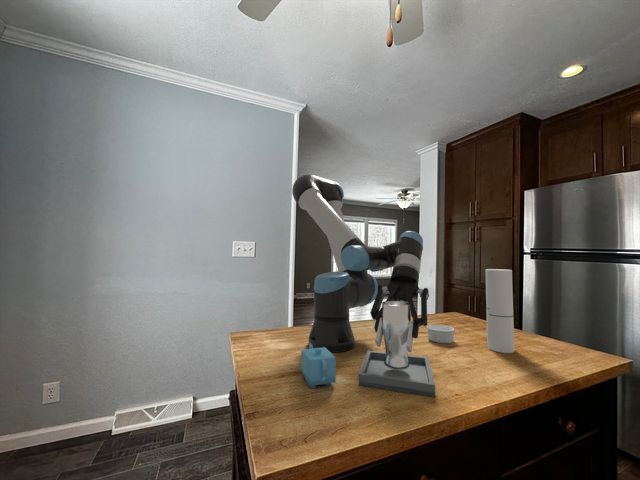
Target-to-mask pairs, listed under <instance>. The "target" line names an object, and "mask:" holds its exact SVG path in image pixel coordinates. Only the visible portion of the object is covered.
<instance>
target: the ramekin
mask: <svg viewBox="0 0 640 480" xmlns="http://www.w3.org/2000/svg"><path fill="white" fill-rule="evenodd" d="M426 329H427V334H428V335H427V337H428V339H429V340H430V341H431V342H434V343H438V344H452V343H453V342H454V339H455V338H454V337H455V328H454V327H452V326H448V325H444V324H429V325H428V324H427V326H426Z"/></svg>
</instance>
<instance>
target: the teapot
mask: <svg viewBox="0 0 640 480" xmlns="http://www.w3.org/2000/svg"><path fill="white" fill-rule="evenodd" d="M336 359H337V358H336V356H335V355H334V354H333V352H330V351H329V350H327V349H326V348H325V347H322V348H313V345H312V344H311V343H309V342H308V348H305V349H301V366H300V367H301V370H300V371H301V372H300V373H301V375H302V377H303V378H304V380H305V381H306V382H307V384H308V386H309V387H310V388H316V387H317V386H320V385H321V386H323V385H325V386H330V385H332V384H333V383H336V382H337V380H336V379H337V378H336V377H337V376H336V374H337V370H336V369H337V367H336V366H337V361H336Z"/></svg>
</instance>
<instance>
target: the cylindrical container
mask: <svg viewBox="0 0 640 480" xmlns="http://www.w3.org/2000/svg"><path fill="white" fill-rule="evenodd" d="M484 271H485V301H486V305H485V306H486V307H485V308H486V339H487V341H486V344H487V345H486V346H487V347H486V348H488V349H489V350H492V351H493V352H497V353H504V354H513V353H515V329H514V328H515V327H514V326H515V324H514V295H513V294H514V292H513V270H512V269H500V268H499V269H497V268H486V269H485V270H484Z"/></svg>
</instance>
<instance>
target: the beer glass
mask: <svg viewBox="0 0 640 480" xmlns="http://www.w3.org/2000/svg"><path fill="white" fill-rule="evenodd" d="M381 307H382V331H383V340H384V345H385V346H384V349H385V358H384V365H385V366H386V367H388V368H391V369H396V370H404V369H407V368H409V366H410V365H409V359H408V355H409V352H408V350H407V347H406V345H407V337H408V330H409V326H410V322H411V317H412V316H411V311H410V307H409V303H408V302H405V301H386V300H385V301H382V304H381Z"/></svg>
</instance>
